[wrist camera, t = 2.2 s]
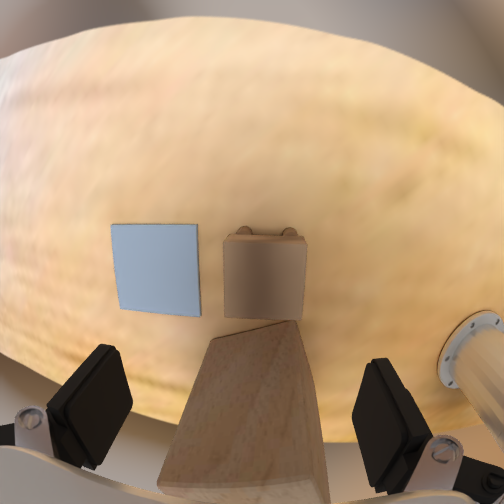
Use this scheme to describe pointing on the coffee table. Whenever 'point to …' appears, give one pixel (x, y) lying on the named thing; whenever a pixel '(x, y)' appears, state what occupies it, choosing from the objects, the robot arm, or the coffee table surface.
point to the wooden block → (250, 425)
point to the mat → (157, 268)
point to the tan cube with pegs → (264, 275)
